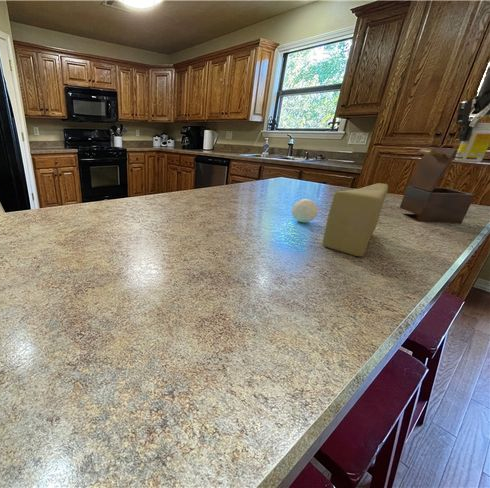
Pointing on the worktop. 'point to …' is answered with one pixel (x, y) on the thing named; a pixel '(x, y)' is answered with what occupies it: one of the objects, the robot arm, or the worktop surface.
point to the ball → (305, 210)
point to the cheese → (354, 218)
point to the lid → (431, 167)
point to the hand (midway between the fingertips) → (476, 140)
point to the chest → (436, 204)
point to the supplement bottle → (475, 144)
